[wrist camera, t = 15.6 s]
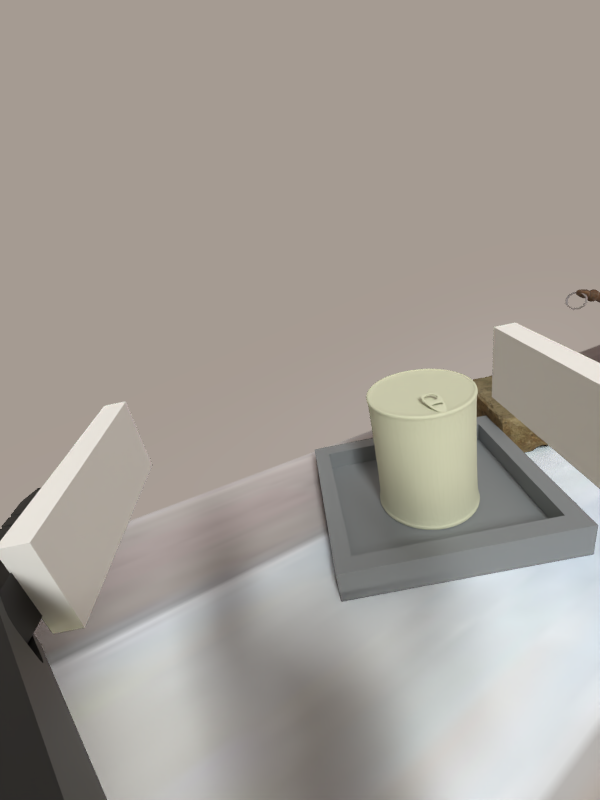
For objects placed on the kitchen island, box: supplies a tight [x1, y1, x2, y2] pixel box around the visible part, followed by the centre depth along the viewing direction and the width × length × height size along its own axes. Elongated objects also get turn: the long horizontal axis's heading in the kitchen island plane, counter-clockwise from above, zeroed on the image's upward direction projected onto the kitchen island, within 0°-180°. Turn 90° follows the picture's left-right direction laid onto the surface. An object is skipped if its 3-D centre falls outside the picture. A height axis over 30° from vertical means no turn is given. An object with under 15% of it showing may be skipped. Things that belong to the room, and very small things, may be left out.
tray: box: [315, 415, 598, 601], centre depth 40 cm, size 20×18×3 cm
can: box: [366, 369, 480, 530], centre depth 37 cm, size 9×9×12 cm
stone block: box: [473, 376, 548, 453], centre depth 48 cm, size 6×12×5 cm, turn 3°
